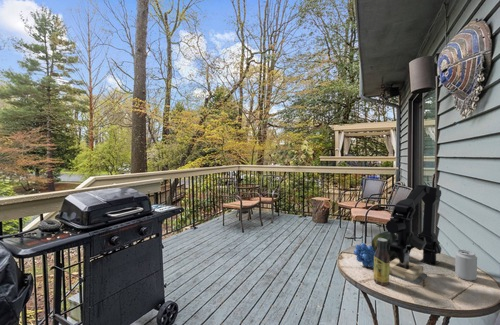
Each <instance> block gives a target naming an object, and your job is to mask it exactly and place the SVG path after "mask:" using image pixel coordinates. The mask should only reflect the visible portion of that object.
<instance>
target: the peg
mask: <svg viewBox="0 0 500 325" xmlns="http://www.w3.org/2000/svg"><path fill="white" fill-rule="evenodd" d="M406 250H408V252H407V253H405V258H404V263H401V262H400V260H399V267H401V268H404V269H407V270H408V269H409V262H410V254H409V249H406Z"/></svg>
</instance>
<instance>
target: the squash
mask: <svg viewBox="0 0 500 325" xmlns="http://www.w3.org/2000/svg"><path fill="white" fill-rule="evenodd" d="M378 238H384V239H387V241H388V243H387V252H388V253H389V256H390V258H391V259H396V258H397V259H398V256H397V254H396V253H395V251H391V250H389V245H390V244H392V243H398V242H395V240H396V239H397V234H396V233H394V234H393V233H390V232H389V231H388V230H387V231H384V232H381V233H378V234H376V235H375V236H374V237H373V238H372V240H371V244H370V246H372V247H373V251H375V252H376V250H377V246H378V242H377V239H378Z"/></svg>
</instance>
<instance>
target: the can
mask: <svg viewBox="0 0 500 325" xmlns="http://www.w3.org/2000/svg"><path fill="white" fill-rule="evenodd" d="M454 258H455V259H454V260H455V262H454V263H455V265H454V267H455V268H454V274H455V275H456V276H457V277H458V278H459V279H461V280H464V281H469V282H472V280H474V281H475V280H477V278H478V276H477V274H478V257H477V256H476V253H475V252H473V251H470V250H466V249H458V250H457V251H456V252H455V257H454Z"/></svg>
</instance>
